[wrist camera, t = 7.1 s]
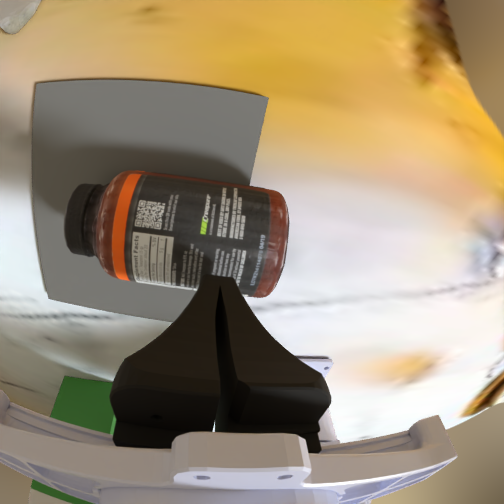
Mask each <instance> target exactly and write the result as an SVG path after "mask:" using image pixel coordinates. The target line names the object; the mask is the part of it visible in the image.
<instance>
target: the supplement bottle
mask: <svg viewBox="0 0 504 504" xmlns="http://www.w3.org/2000/svg"><path fill="white" fill-rule="evenodd" d="M288 233H289V215H288V208H287V205H286V202H285V200H284V197H283V196H282V195H281V194H280V193H279V192H277V191H274V190H269V189H265V188H260V187H253V186H248V185H242V184H235V183H229V182H223V181H217V180H209V179H203V178H196V177H188V176H180V175H172V174H166V173H157V172H145V171H124V172H122V173H120V174H118V175H117V176H116V177H114V178H113V180H112V181H111V182H110V183H108V184H106V185H104V186H102V185H101V184H86V183H84V184H80V185H78V186H77V187H76V188H75V189H74V191H73V192H72V193H71V195H70V197H69V200H68V203H67V207H66V211H65V216H64V237H65V242H66V246H67V247H68V249H69V250H70V252H71V253H73V254H77V255H83V256H87V257H93V256H96V257H97V258H98V259H99V262H100V265H101V266H102V268H103V269H104V271H105V272H106V273H107V274H108V275H110V276H112V277H114V278H117V279H121V280H127V281H134V282H138V283H145V284H152V285H159V286H165V287H172V288H180V289H187V290H195V291H197V289H198V287H199V285H200V283H201V280H202V276H203V275H205V274H209V275H217V276H225V277H233V278H234V279H235V280H236V283H237V285H238V287H239V289H240V291H241V293H242V295H243V296H245V297H257V298H261V297H266V296H268V295H269V294H270V293H271V292H272V291H273V290H274V288H275V287H276V285H277V283H278V280H279V278H280V276H281V273H282V270H283V267H284V264H285V258H286V251H287V243H288Z"/></svg>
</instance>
